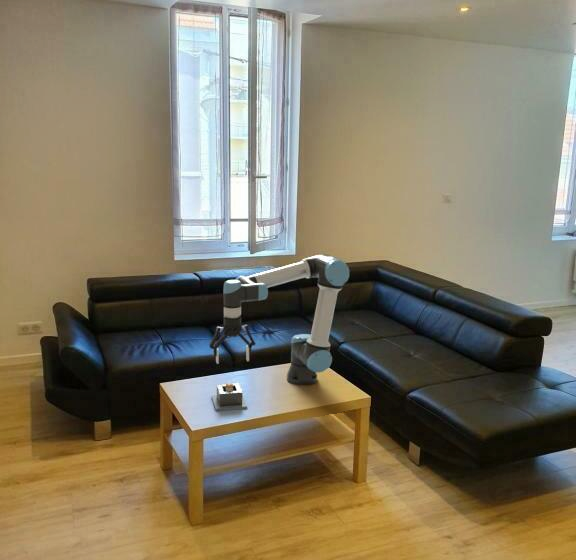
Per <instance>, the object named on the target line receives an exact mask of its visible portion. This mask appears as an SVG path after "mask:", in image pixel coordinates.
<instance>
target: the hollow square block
mask: <svg viewBox="0 0 576 560" xmlns="http://www.w3.org/2000/svg"><path fill="white" fill-rule="evenodd" d="M226 384H227V383H224V384H216V395H217V400H218V403H219V406H220V407H222V406H235V405H242V395H243V390H242V388H241V385H240V384H239V383H237V382H236V383H232V384H233V391H227V392H226Z"/></svg>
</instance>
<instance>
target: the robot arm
mask: <svg viewBox="0 0 576 560" xmlns="http://www.w3.org/2000/svg"><path fill="white" fill-rule="evenodd" d="M304 278H305V279H311V278H318V279H317V286H318V288H319V291H318V297H317V301H316V302H317V303H316V307H315V311H314V317H313V322H312V327H311V333H310V334H309V333H308V334H307V333H300V334H295V335H294V336H292V337H291V342H290V343H291V344H290V345H291V352H290V366H289V368H288V371H287V373H286V380H287V382H288V383H291V384H293V385H298V386H309V385H313V384H315V383H317V381H318V374H317V373H323V372H325V371H326V370H328V369H329V368H330V367H331V364H332V362H333V357H332V354H331V352H330V349H331V343H330V341H329V338H330V332H331V329H332V323H333V319H334V313H335V308H336V304H337V298H338V294H339V292H340V291H341V290H343V287H344V286H343V285H345V284H346V283H347V282H348V281H349V278H350V269H349V266H348V265H347V262H345V261H344V260H342V259H340V258H337V257H335V256H331V255H329V254H318V255H313V256H310V257H306V258H302V259H301V261H299V262H296V263H292V264H288V265H285V266H281V267H277V268H273V269H270V270H267V271H263V272H260V273H259V272H258V273H255V274H251V275H247V276H246V275H239V276H237V277H236V278H235V279H229V280H226V281H224V283H223V292H222V293H223V326H219V325H218V326H216V329H215V333H214V334H213V336H212V339H211V340H210V343H209V348H210V349H213V356H214V357H215V362H216V365H218V364H220V363H219V362H220V360H219V359H220V356H219V355H220V354H219V352H220V351H219V347H220V346H221V345H222V344H223V342H224V341H225V340H226V339H228V337H229V338H231V337H237V336H238V337H239V338H241V340H243V341H244V343H245V344H246V346H245V348H246V349H245V351H246V352H245V353H246V354H245V355H246V356H245V357H246V361H247V362H249V361H250V354H252V348H253V346H256V342H255V339H254V338H253V336H252V334H251V333H250V330H249V329H250V328H249V325H248V324H244V325H242V316H241V315H242V303H245V302H255V301H256V302H257V301H259V302H260V301H264V300H267V298H268V295H269V289H268V288H271V287H276V286H279V285H282V284H286V283H289V282H292V281H297V280H300V279H304ZM242 330H243V331H244V332H246V334H247V337H248V338H249V340H250V341H249V340H248V339H247V338H246V337H245V336H244V335H243V334H242ZM222 331H223V333H222V335H221V336H220V333H221V332H222ZM219 336H220V337H219Z"/></svg>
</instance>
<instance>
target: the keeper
mask: <svg viewBox="0 0 576 560" xmlns="http://www.w3.org/2000/svg"><path fill="white" fill-rule="evenodd" d="M225 384H226V392H227V391H233V384H234V383H232V382H227V383H225ZM211 400H212V403H213V406H214V410H215V411H216V412H220V411H233V410H246V409H248V405H247V402H246V400H245V398H244V395H243V394H242V405H235V406H222V407H220V406H219V403H218V400H217V394H216V395H215V394H214V395H211Z"/></svg>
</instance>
